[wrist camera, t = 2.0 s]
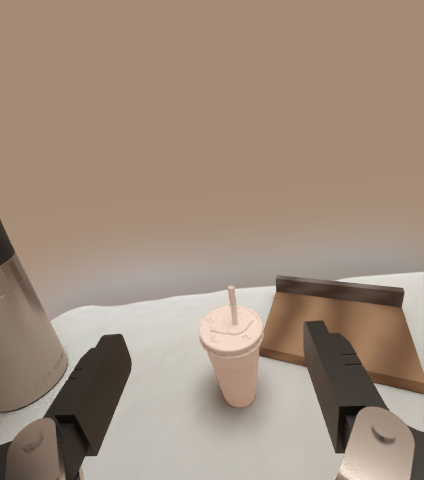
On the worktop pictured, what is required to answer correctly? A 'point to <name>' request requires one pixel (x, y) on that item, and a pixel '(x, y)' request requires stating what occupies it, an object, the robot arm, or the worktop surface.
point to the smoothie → (233, 349)
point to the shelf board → (346, 326)
